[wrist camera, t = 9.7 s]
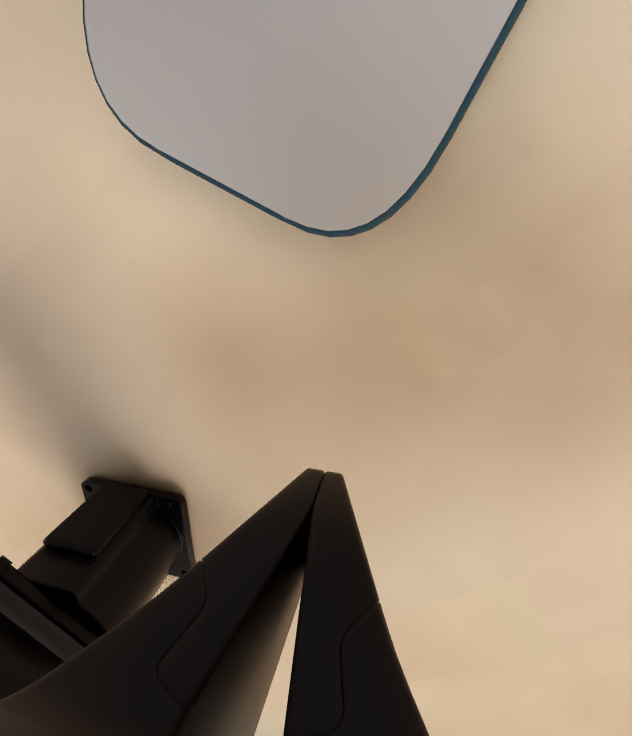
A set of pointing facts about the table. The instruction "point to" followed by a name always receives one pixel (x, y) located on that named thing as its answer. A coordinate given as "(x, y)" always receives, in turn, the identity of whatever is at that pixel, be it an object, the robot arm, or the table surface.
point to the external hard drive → (298, 94)
